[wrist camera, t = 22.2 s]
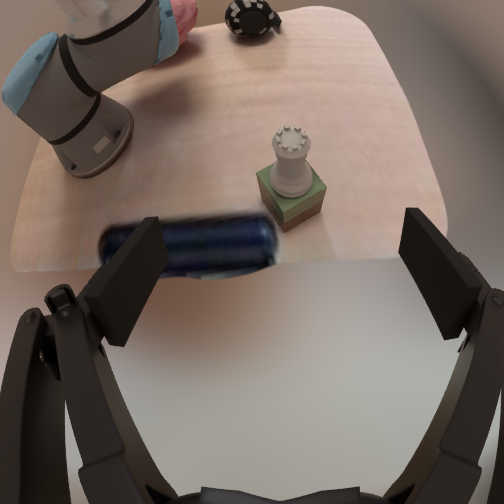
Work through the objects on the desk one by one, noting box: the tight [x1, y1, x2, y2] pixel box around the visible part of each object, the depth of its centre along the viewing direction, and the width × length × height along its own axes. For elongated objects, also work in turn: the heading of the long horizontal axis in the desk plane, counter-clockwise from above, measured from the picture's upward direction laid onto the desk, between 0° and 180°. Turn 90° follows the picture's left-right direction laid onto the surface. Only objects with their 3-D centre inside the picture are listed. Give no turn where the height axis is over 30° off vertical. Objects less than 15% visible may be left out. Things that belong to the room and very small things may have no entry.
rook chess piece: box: [270, 125, 313, 197], centre depth 26 cm, size 4×4×8 cm
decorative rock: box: [170, 0, 198, 46], centre depth 41 cm, size 19×14×15 cm
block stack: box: [256, 160, 327, 232], centre depth 33 cm, size 6×6×7 cm
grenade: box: [225, 0, 282, 38], centre depth 43 cm, size 11×10×15 cm
